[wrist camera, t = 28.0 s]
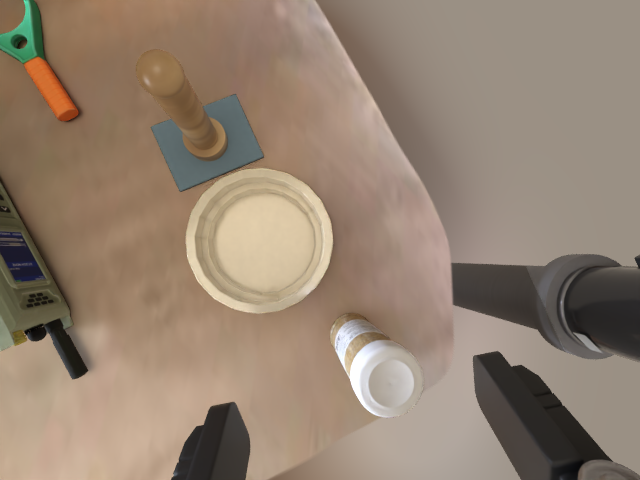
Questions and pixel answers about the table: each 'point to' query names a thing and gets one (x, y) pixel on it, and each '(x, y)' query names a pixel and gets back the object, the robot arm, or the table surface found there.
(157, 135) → the rest mat
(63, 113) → the magnifying glass
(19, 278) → the handheld radio
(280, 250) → the bowl
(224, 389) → the table surface
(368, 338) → the sprinkles bottle
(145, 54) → the wooden pestle
